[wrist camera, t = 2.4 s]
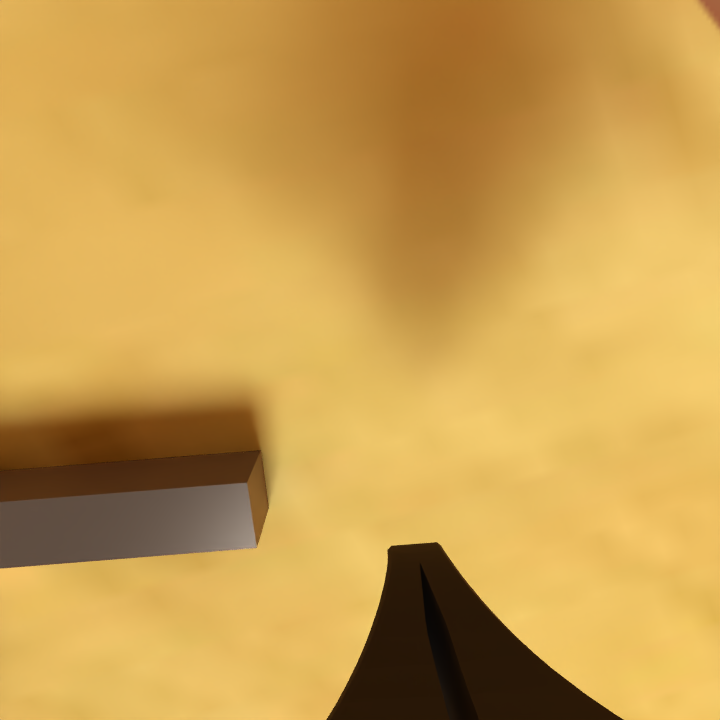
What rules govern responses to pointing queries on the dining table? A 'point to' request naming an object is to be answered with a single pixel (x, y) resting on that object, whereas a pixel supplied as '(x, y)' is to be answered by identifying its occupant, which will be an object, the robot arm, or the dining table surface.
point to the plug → (131, 509)
